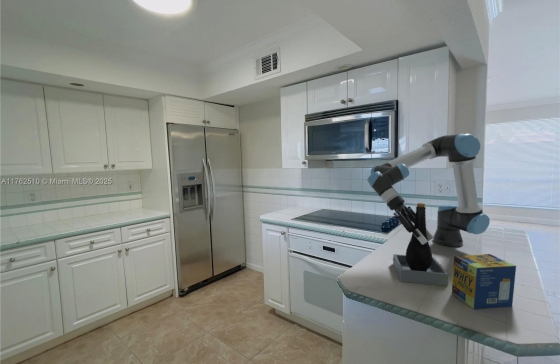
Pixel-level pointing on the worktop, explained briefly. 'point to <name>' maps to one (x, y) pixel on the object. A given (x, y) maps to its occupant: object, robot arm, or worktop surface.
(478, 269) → the protein box
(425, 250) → the bottle
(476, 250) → the worktop surface
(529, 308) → the worktop surface
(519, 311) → the worktop surface
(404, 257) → the tray
